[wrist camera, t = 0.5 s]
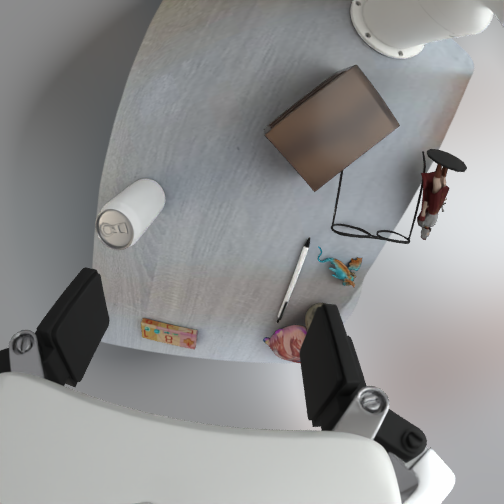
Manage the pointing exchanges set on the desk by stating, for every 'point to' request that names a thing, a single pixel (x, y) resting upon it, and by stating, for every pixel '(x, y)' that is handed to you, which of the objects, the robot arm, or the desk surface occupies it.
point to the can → (130, 214)
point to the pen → (294, 279)
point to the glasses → (380, 230)
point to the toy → (169, 333)
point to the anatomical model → (287, 342)
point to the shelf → (332, 126)
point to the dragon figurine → (344, 269)
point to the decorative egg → (311, 314)
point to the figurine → (436, 188)
